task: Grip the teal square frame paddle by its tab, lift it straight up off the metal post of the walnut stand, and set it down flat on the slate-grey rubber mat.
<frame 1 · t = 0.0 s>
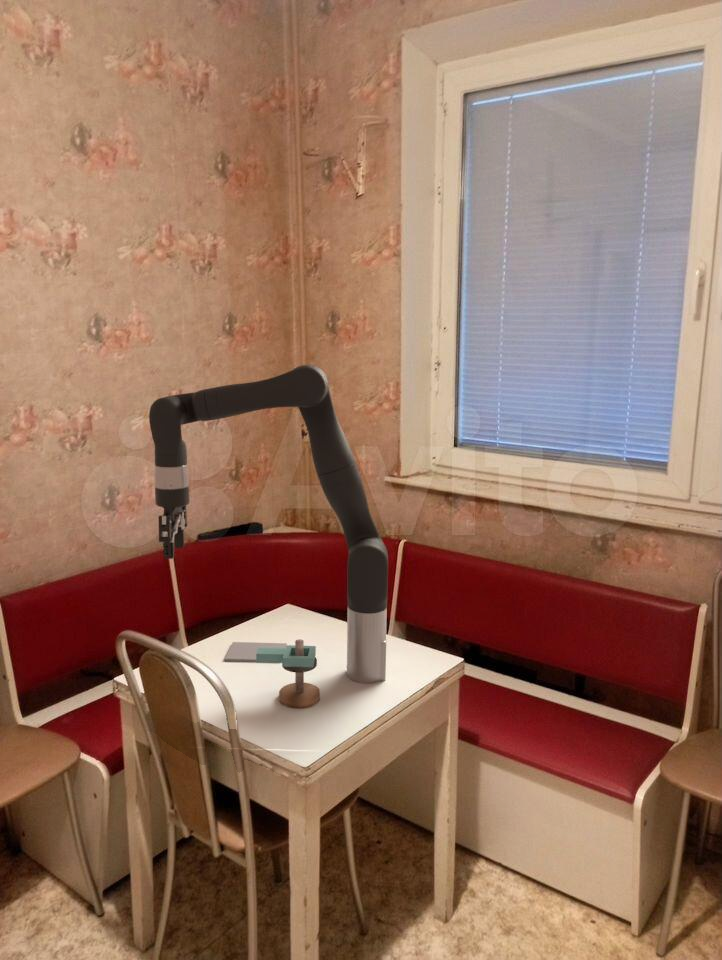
hand: (174, 552, 164), 29 cm above the table, tool pointing down, fingers open, 8 cm apart
mat: (256, 653, 179), on the table
stand: (299, 698, 157), on the table
teal square frame paddle: (299, 660, 155), point 9 cm above the table, touching stand
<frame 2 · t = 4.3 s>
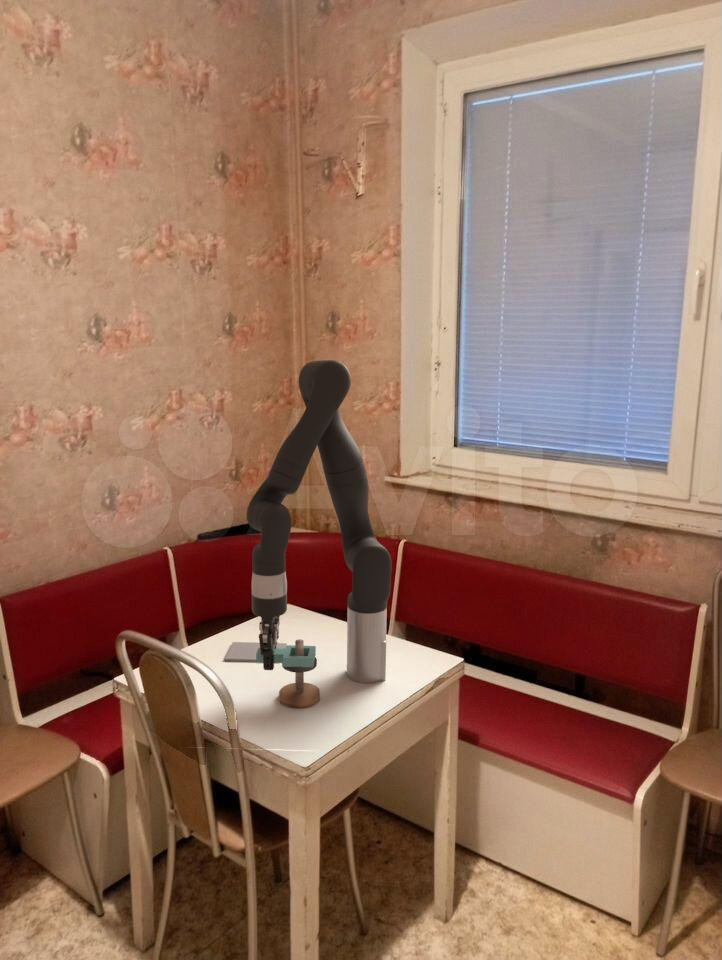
hand: (270, 665, 155), 8 cm above the table, tool pointing down, fingers closed on teal square frame paddle, 3 cm apart
teal square frame paddle: (299, 660, 155), point 9 cm above the table, touching gripper, stand
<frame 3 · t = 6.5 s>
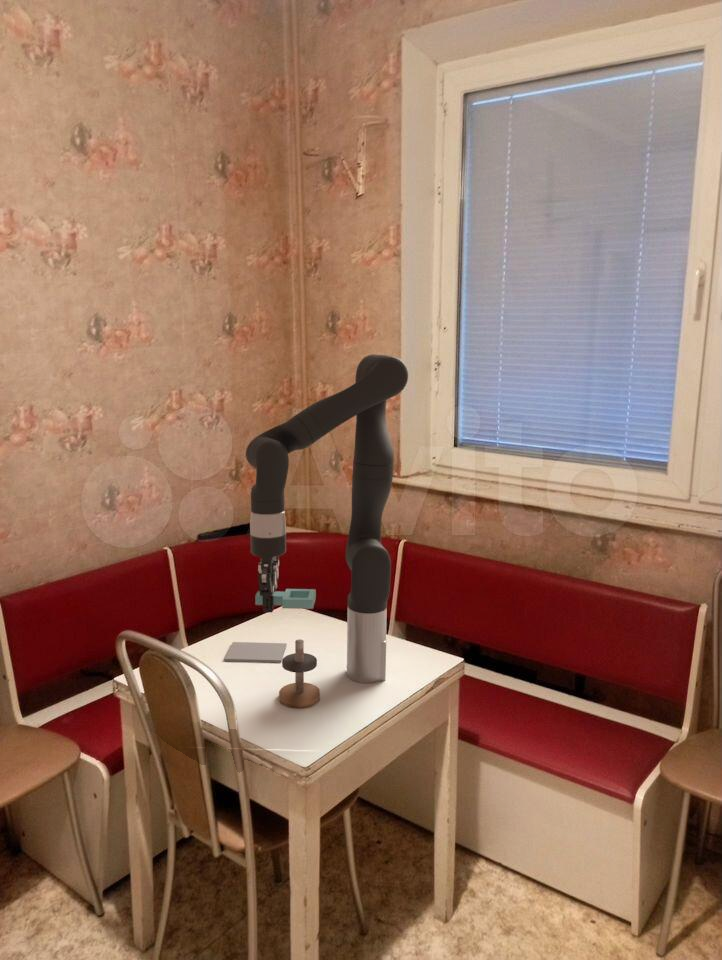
hand: (269, 608, 153), 21 cm above the table, tool pointing down, fingers closed on teal square frame paddle, 3 cm apart
teal square frame paddle: (299, 603, 152), point 22 cm above the table, touching gripper
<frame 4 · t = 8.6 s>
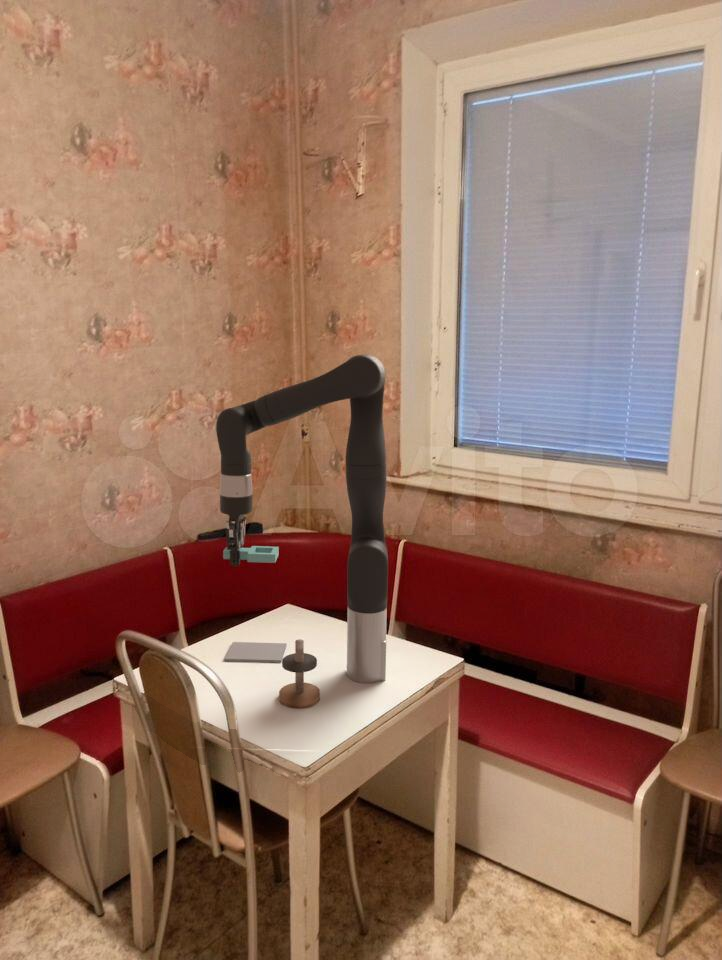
hand: (236, 562, 168), 26 cm above the table, tool pointing down, fingers closed on teal square frame paddle, 3 cm apart
teal square frame paddle: (263, 558, 168), point 27 cm above the table, touching gripper
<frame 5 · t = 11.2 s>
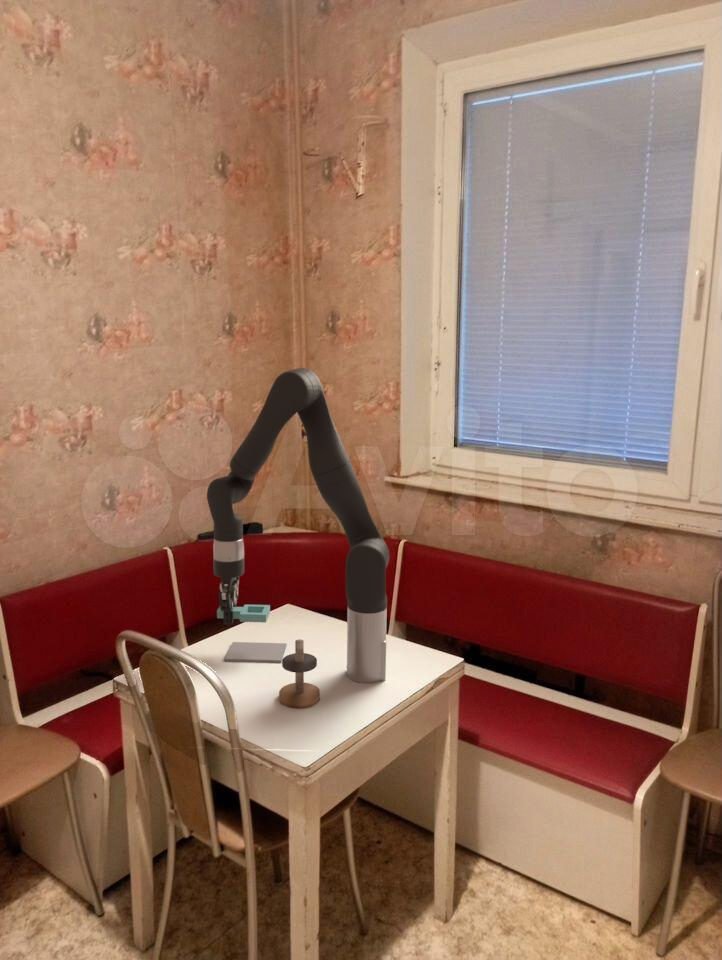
hand: (229, 621, 178), 8 cm above the table, tool pointing down, fingers closed on teal square frame paddle, 3 cm apart
teal square frame paddle: (255, 617, 177), point 10 cm above the table, touching gripper
when the fingers open (2 cm above the table, at t = 13.3 s): teal square frame paddle drops 2 cm, resting on mat.
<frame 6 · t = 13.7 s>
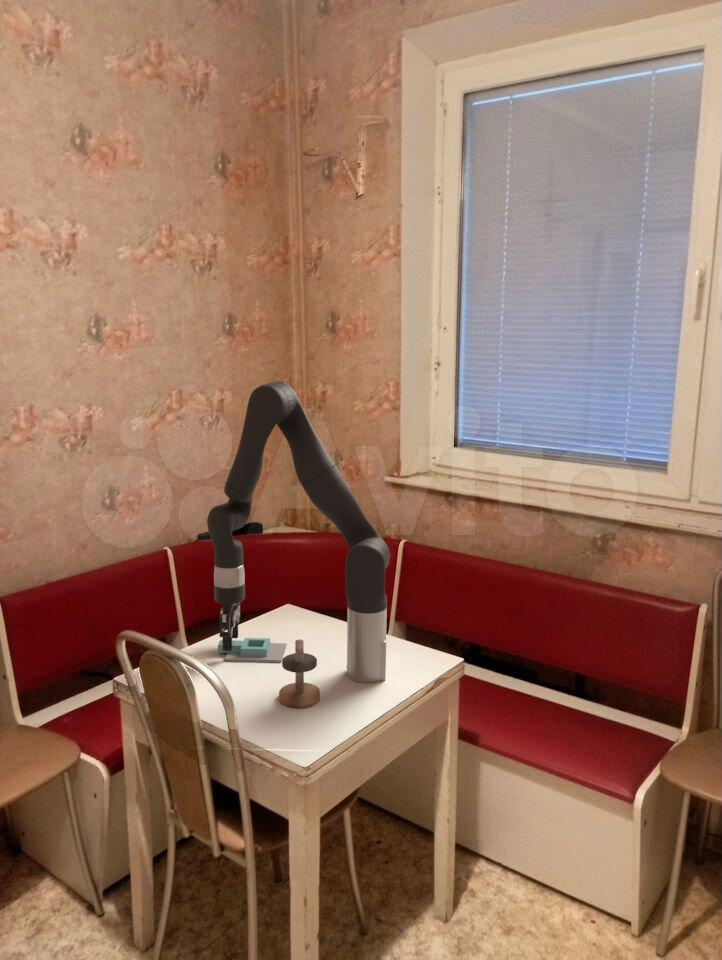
hand: (230, 643, 179), 2 cm above the table, tool pointing down, fingers open, 7 cm apart
teal square frame paddle: (255, 650, 179), point 1 cm above the table, touching mat
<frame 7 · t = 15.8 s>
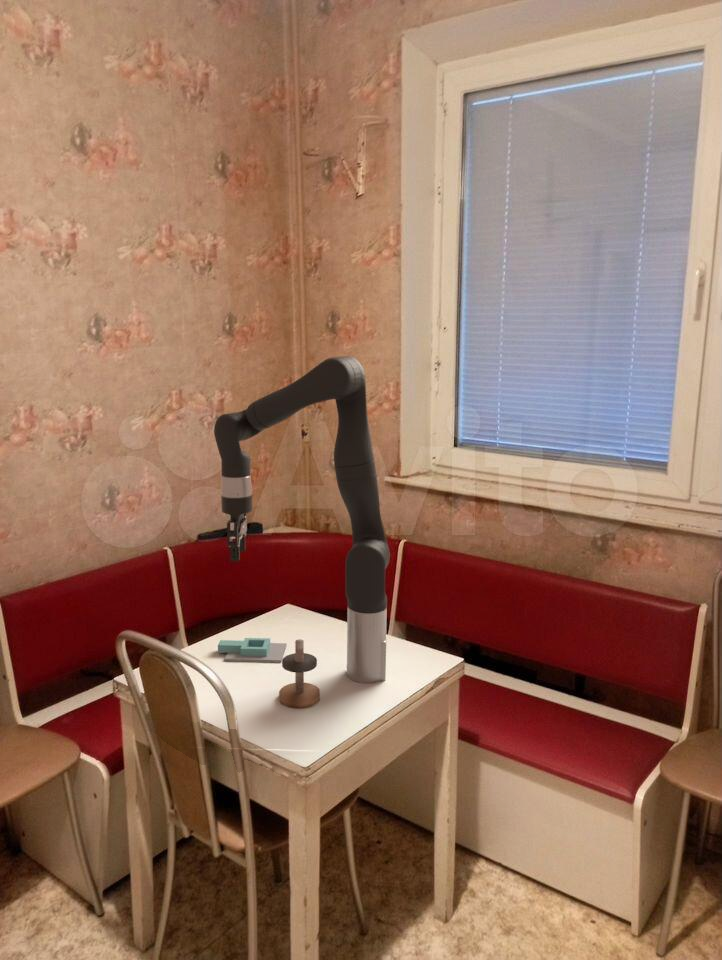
hand: (238, 556, 178), 24 cm above the table, tool pointing down, fingers open, 8 cm apart
nothing on the table moved.
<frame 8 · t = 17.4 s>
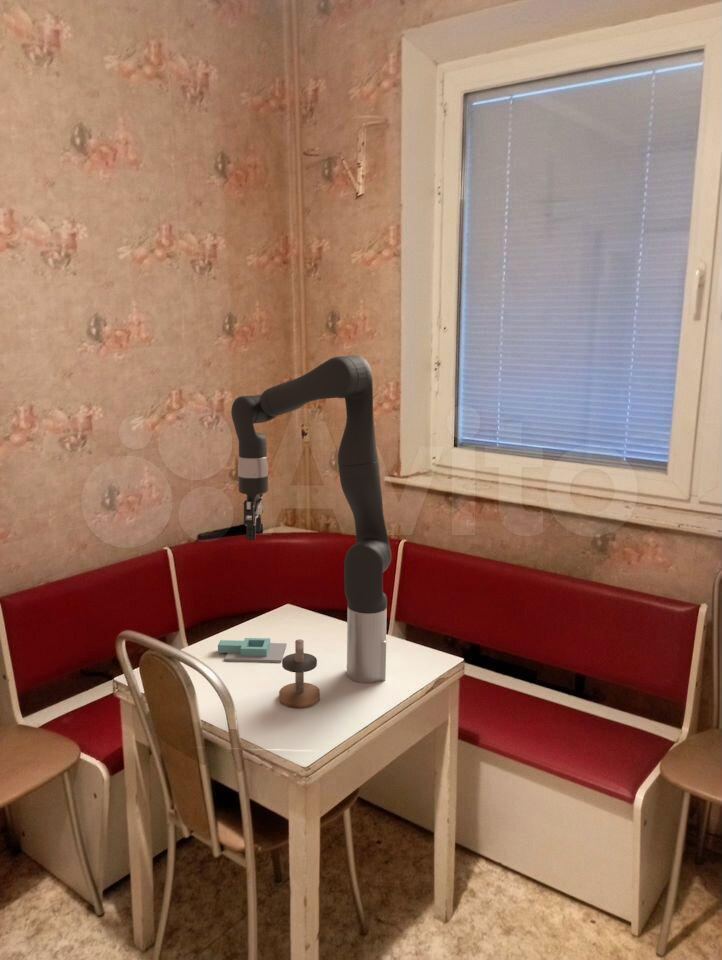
hand: (254, 535, 184), 28 cm above the table, tool pointing down, fingers open, 8 cm apart
nothing on the table moved.
at the end: teal square frame paddle inside the target area on the mat (0.2 cm from its centre), point 0.6 cm above the mat's base; the gripper is holding nothing; teal square frame paddle tilted 0° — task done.
